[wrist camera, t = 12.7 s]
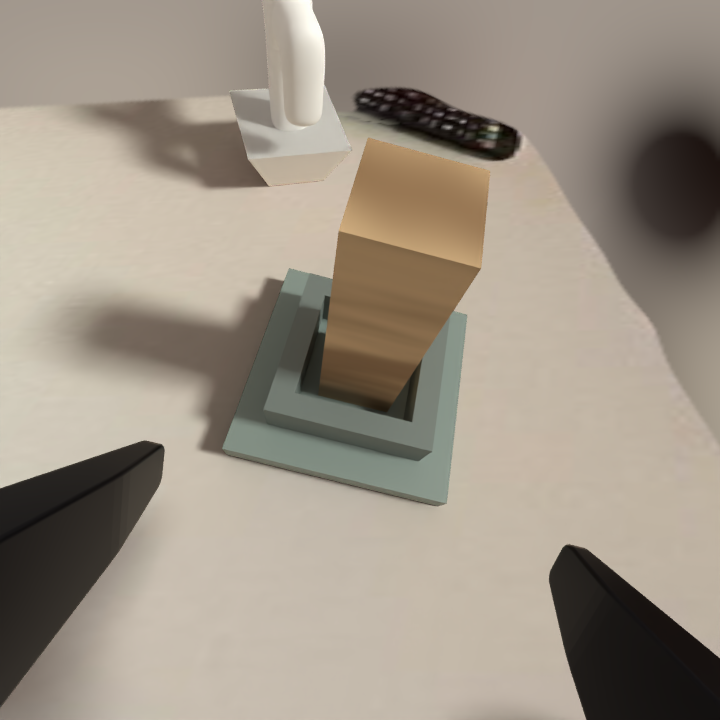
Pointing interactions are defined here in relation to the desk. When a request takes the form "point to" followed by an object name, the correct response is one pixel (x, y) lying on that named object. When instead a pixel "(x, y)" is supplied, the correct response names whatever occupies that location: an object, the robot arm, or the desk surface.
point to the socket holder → (346, 406)
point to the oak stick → (399, 268)
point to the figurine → (291, 102)
